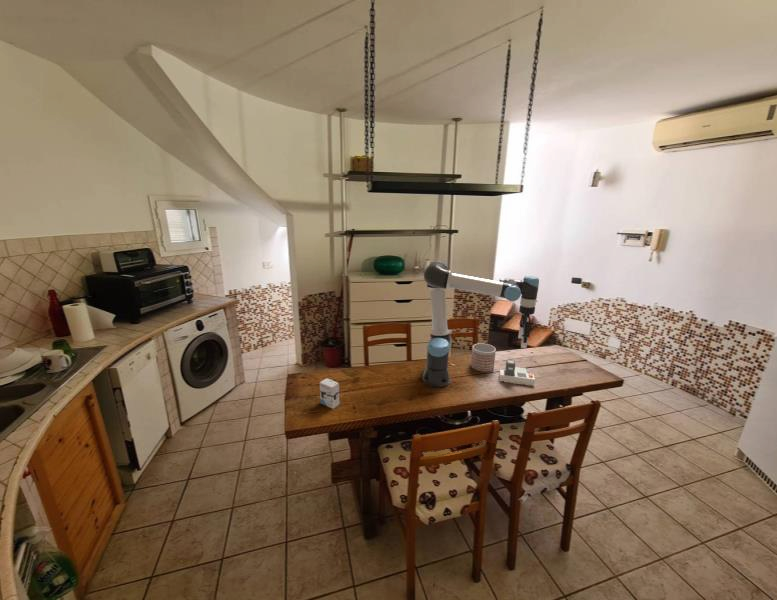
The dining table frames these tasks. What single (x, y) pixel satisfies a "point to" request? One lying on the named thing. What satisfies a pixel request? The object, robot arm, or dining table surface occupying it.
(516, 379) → the power strip
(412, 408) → the dining table surface
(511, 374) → the charger
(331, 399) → the ink box
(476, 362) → the planter
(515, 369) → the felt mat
